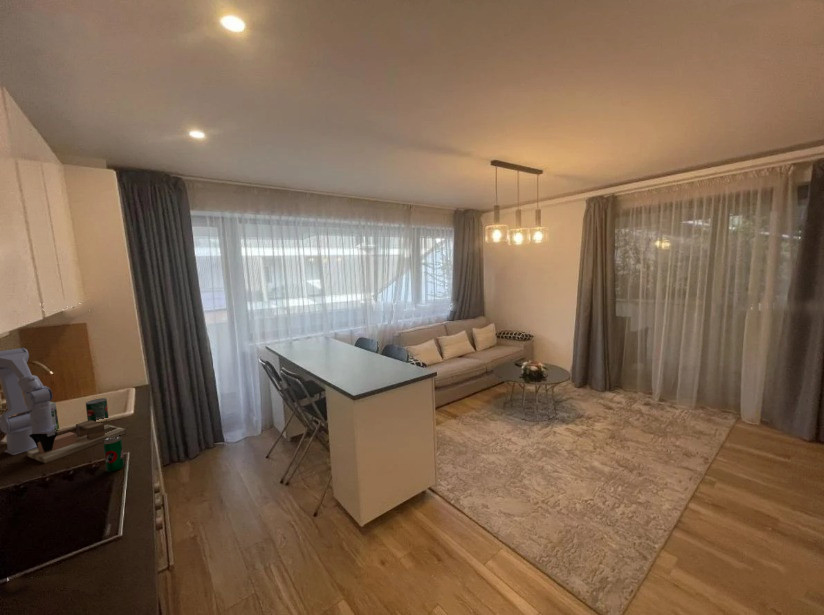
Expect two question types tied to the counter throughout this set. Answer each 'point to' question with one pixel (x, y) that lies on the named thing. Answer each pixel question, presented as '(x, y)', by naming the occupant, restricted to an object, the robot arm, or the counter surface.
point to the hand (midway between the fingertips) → (45, 449)
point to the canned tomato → (97, 409)
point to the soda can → (113, 453)
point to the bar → (60, 441)
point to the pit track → (80, 440)
